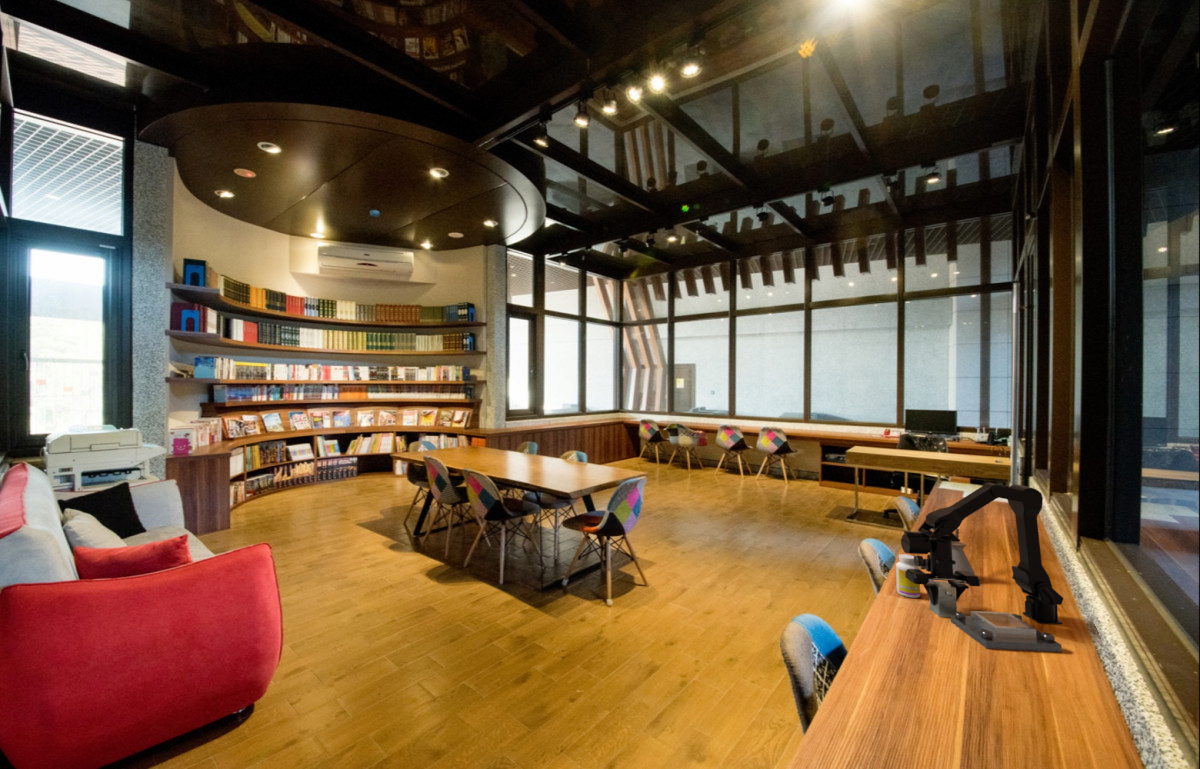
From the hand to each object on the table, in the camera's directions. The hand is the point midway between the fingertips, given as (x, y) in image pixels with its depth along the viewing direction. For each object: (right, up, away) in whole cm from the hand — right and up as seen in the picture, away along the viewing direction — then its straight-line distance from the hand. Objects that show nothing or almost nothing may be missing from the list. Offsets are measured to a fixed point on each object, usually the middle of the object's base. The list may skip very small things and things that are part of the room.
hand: (942, 605), depth 143 cm
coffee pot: (+29, -4, +32) cm, 44 cm away
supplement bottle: (-1, -3, +14) cm, 15 cm away
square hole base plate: (+6, -2, -14) cm, 15 cm away
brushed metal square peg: (0, -3, 0) cm, 3 cm away
